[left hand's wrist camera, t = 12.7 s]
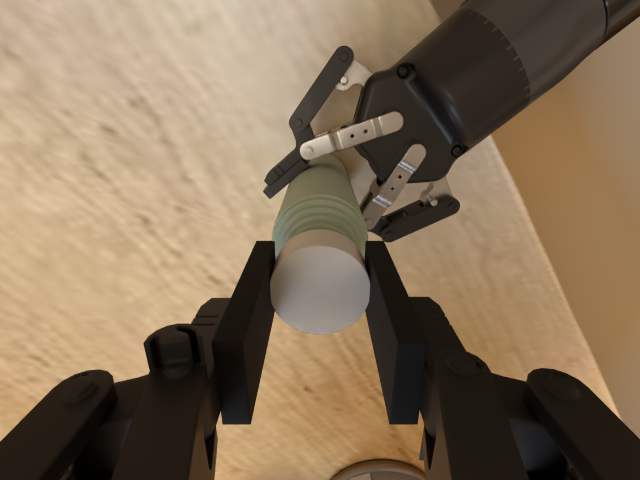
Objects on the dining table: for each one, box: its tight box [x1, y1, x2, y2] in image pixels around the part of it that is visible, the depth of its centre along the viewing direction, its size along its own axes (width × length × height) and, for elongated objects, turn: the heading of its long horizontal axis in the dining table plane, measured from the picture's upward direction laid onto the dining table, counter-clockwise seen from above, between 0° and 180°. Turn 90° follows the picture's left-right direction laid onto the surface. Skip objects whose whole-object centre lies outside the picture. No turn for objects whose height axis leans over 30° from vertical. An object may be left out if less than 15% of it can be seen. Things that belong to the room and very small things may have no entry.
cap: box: [270, 229, 370, 335], centre depth 14 cm, size 4×4×2 cm
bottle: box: [272, 154, 368, 258], centre depth 23 cm, size 5×5×20 cm
